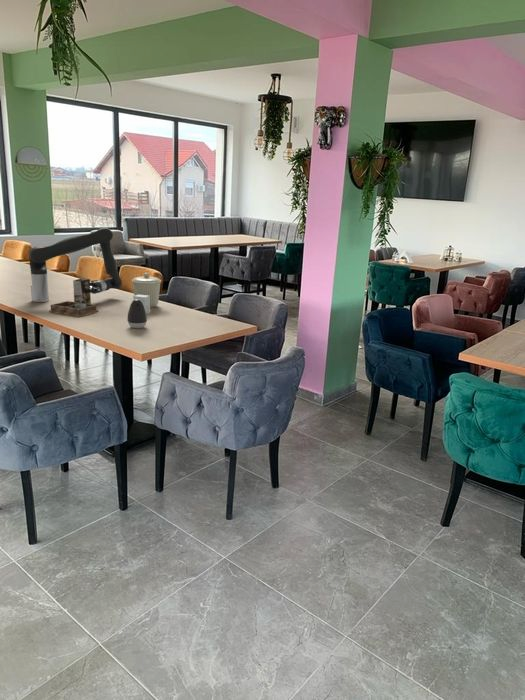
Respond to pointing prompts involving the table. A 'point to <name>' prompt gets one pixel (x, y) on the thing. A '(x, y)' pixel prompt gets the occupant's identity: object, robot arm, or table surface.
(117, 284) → the robot arm
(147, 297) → the small box
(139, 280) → the canister
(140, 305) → the black and white dome
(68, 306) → the caddy
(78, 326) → the table surface
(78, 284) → the coffee box
